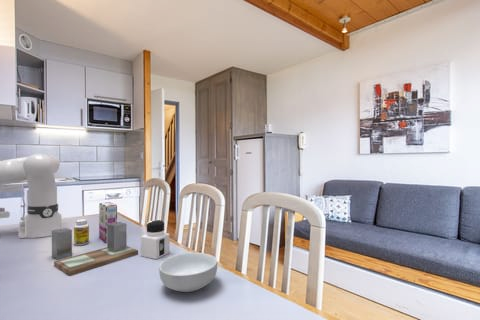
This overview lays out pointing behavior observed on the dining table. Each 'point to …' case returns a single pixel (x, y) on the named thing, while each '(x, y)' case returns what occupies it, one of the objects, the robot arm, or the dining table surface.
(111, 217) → the candy bar box
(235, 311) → the dining table surface
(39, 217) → the robot arm
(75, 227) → the supplement bottle
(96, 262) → the wooden board
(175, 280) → the cereal bowl
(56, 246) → the loose billet
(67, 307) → the dining table surface
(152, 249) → the container
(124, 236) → the billet
